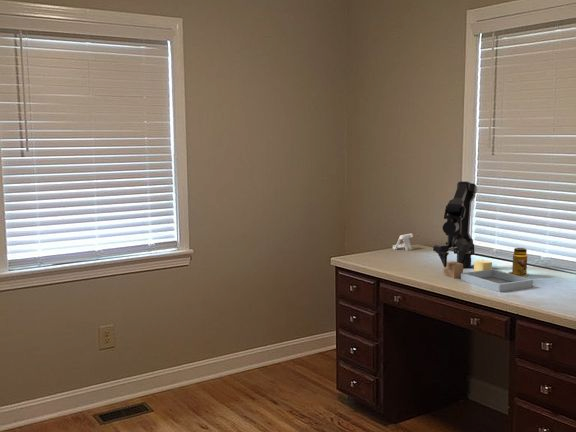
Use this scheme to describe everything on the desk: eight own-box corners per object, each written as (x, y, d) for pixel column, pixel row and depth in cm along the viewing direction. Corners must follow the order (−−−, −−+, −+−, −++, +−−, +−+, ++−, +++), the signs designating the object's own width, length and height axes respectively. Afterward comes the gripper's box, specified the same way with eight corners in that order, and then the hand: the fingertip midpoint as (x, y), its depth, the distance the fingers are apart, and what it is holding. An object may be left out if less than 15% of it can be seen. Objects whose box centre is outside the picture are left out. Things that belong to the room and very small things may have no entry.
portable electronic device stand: (403, 247, 359) (403, 232, 358) (414, 249, 353) (414, 234, 352) (392, 249, 354) (392, 234, 353) (403, 251, 348) (404, 235, 347)
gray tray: (460, 279, 283) (461, 273, 283) (492, 275, 291) (493, 269, 290) (499, 291, 262) (499, 284, 262) (532, 287, 270) (532, 279, 270)
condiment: (525, 277, 287) (527, 250, 285) (505, 275, 291) (506, 249, 290) (528, 274, 293) (529, 247, 292) (509, 272, 297) (510, 246, 296)
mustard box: (473, 271, 299) (474, 260, 299) (482, 270, 302) (482, 259, 301) (483, 274, 294) (483, 263, 293) (491, 273, 296) (491, 262, 296)
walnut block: (443, 275, 293) (443, 262, 292) (452, 274, 295) (452, 261, 294) (453, 278, 286) (454, 265, 286) (462, 277, 288) (463, 263, 288)
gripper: (449, 235, 277) (448, 271, 279) (483, 232, 285) (482, 267, 287) (432, 231, 287) (432, 266, 289) (466, 228, 295) (465, 262, 297)
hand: (453, 266), depth 290 cm, fingers open, 9 cm apart
